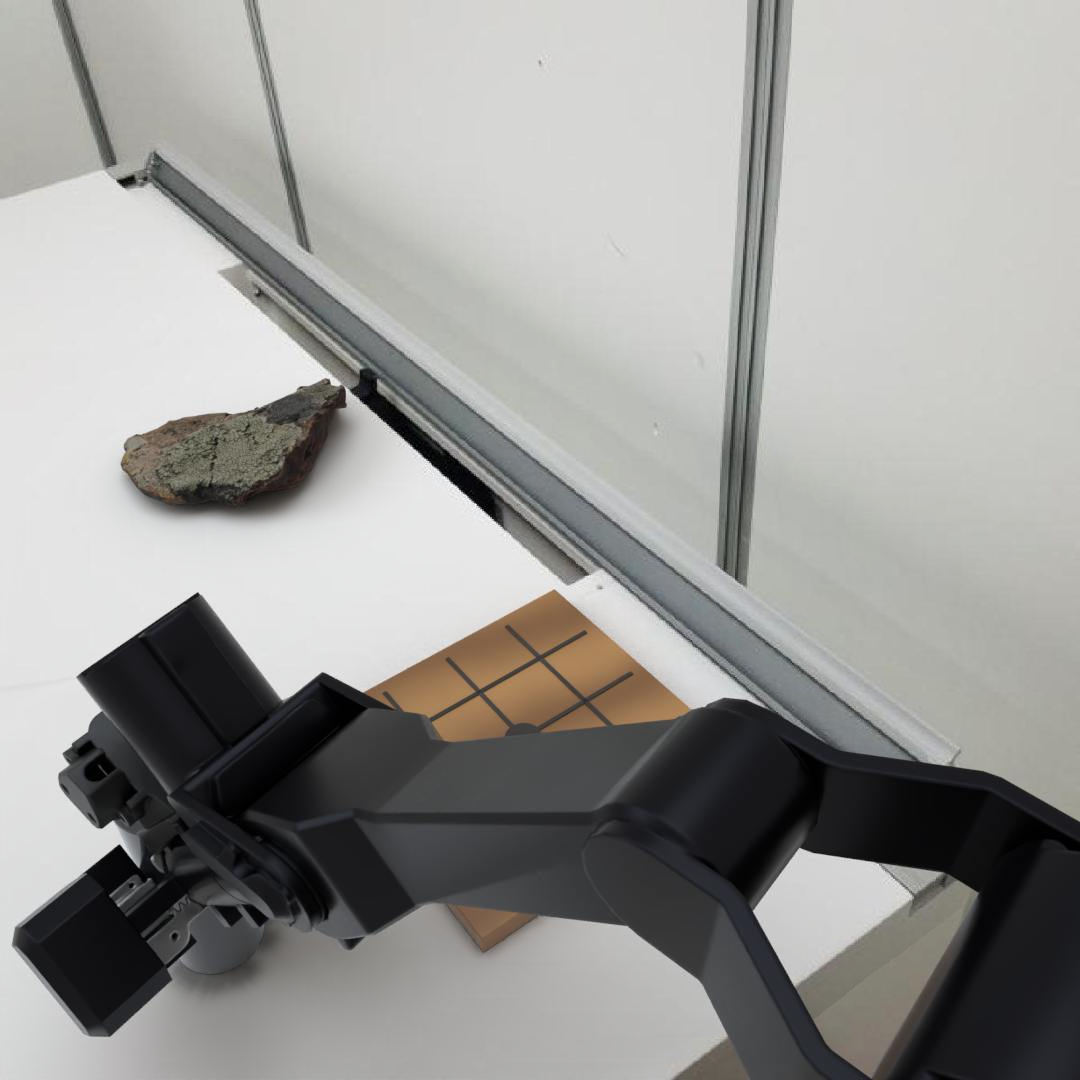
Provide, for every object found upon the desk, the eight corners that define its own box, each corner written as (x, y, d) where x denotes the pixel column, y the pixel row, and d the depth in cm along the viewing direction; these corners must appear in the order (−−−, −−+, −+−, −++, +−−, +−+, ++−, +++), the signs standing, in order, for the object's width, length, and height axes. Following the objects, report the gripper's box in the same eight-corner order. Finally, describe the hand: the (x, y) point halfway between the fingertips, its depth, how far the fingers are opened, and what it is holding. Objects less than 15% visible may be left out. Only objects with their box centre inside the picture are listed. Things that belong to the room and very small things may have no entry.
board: (746, 773, 72) (747, 756, 71) (483, 953, 64) (481, 937, 63) (555, 603, 85) (554, 587, 84) (315, 734, 76) (310, 718, 75)
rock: (110, 540, 93) (91, 491, 90) (133, 422, 106) (118, 376, 103) (357, 506, 95) (347, 457, 92) (350, 394, 108) (341, 348, 105)
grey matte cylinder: (269, 959, 64) (215, 819, 56) (178, 985, 63) (109, 846, 55) (260, 885, 68) (208, 742, 59) (174, 908, 67) (108, 767, 58)
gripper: (317, 567, 54) (221, 634, 66) (-51, 836, 43) (-82, 855, 56) (458, 755, 55) (337, 786, 68) (132, 1062, 44) (62, 1030, 57)
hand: (176, 853), depth 62 cm, fingers closed on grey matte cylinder, 5 cm apart
